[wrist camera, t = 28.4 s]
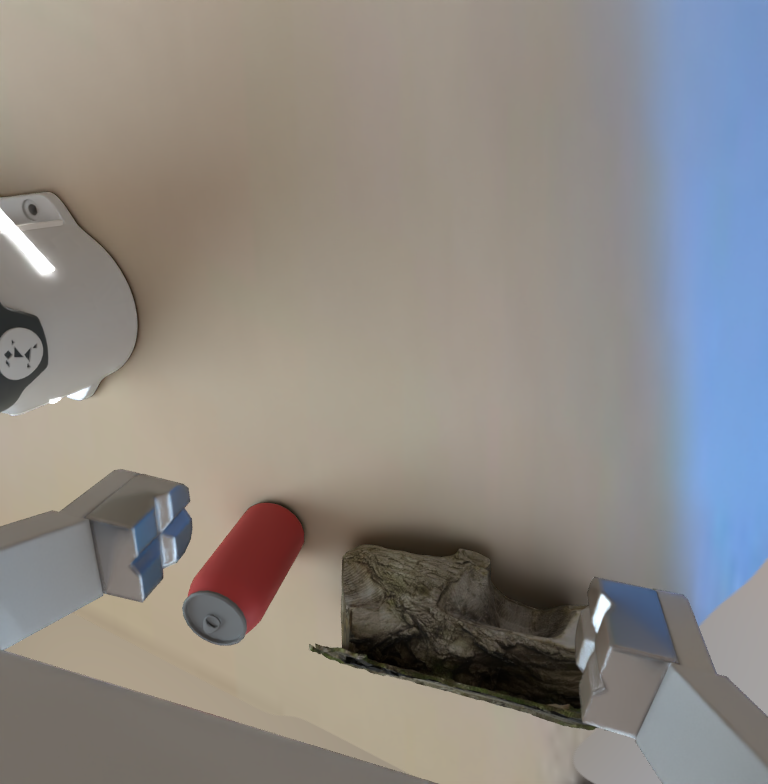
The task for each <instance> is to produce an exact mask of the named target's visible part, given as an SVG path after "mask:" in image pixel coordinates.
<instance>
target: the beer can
mask: <svg viewBox="0 0 768 784" xmlns="http://www.w3.org/2000/svg"><path fill="white" fill-rule="evenodd" d="M303 543H304V531H303V528H302V525H301V523H300V522H299V520H298V519H297V518H296V516H295V515H294V514H293V513H292V512H290V511H289V510H288V509H286V508H284V507H282V506H280V505H278V504H273V503H259V504H256V505H254V506H252V507H250V508H249V509H248V510H247V511H246V512H245V513H244V515H243V516H242V517H241V518H240V520H239V521H238V522H237V524H236V525H235V526H234V527H233V529H232V530H231V531H230V533H229V534H228V535H227V536H226V538H225V539H224V540H223V542H222V543H221V544H220V545H219V547H218V548H217V549H216V551H215V552H214V553H213V554H212V556H211V557H210V558H209V560H208V561H207V562H206V563H205V565H204V566H203V567H202V569H201V570H200V571H199V572H198V574H197V575H196V576H195V578H194V579H193V581H192V584H191V586H190V590H189V593H188V597H187V598H186V599H185V601H184V604H183V607H182V609H183V616H184V618H185V620H186V622H187V624H188V626H189V627H190V628H191V629H192V630H193V632H194V633H196V634H197V635H198V636H199V637H201V638H202V639H204V640H206V641H208V642H210V643H213V644H217V645H233V644H236V643H239V642H240V641H241V640H242V639H243V638H244V636H245V635H246V634H247V633H248V632H249V631H251V630H252V629H253V628H254V627H255V626H256V625H257V624H258V623H259V622H260V621H261V619H262V617H263V616H264V614H265V612H266V610H267V609H268V607H269V605H270V603H271V601H272V600H273V598H274V596H275V594H276V593H277V591H278V589H279V587H280V586H281V584H282V582H283V580H284V578H285V577H286V575H287V573H288V571H289V570H290V568H291V566H292V564H293V562H294V561H295V559H296V557H297V555H298V554H299V552H300V550H301V548H302V546H303Z"/></svg>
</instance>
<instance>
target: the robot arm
mask: <svg viewBox="0 0 768 784" xmlns="http://www.w3.org/2000/svg"><path fill="white" fill-rule="evenodd" d="M36 208H37V211H36ZM136 337H137V313H136V307H135V303H134V299H133V296H132V293H131V290H130V288H129V285H128V283H127V281H126V279H125V277H124V275H123V273H122V272H121V270H120V269H119V267H118V266H117V264H116V263H115V261H114V260H113V259H112V257H111V256H110V255H109V254H108V253H107V252H106V250H105V249H104V248H103V247H102V246H101V245H100V244H99V243H97V242H96V241H95V240H94V239H93V238H91V237H90V236H89V235H88V234H87V233H85V232H84V231H83V230H82V229H81V228H80V227H79V226H78V225H77V224H76V222H75V220H74V219H73V217H72V216H71V214H70V213H69V211H68V210H67V208H66V207H65V205H64V204H63V203H62V201H61V200H60V199H59V198H58V197H57V196H56V195H55V194H53V193H51V192H40V193H32V194H24V195H16V196H8V197H0V413H1V412H2V413H7V414H9V415H11V416H17V415H21V414H24V413H27V412H29V411H32V410H34V409H37V408H39V407H42V406H44V405H46V404H49V403H52V404H53V403H55V402H57V401H59V400H61V398H63V397H69V398H71V399H74V400H78V401H80V400H84V399H86V398H89V397H91V396H92V395H93V394H94V392H95V391H96V389H97V387H98V385H99V383H100V381H101V380H102V379H103V378H105V377H106V376H108V375H110V374H112V373H113V372H115V371H117V370H118V369H119V368H121V367H122V366H123V365H124V364H125V362H126V361H127V360H128V358H129V357H130V355H131V353H132V351H133V348H134V346H135V342H136ZM189 502H190V496H189V488H188V487H187V486H185V485H184V484H182V483H178V482H174V481H170V480H166V479H162V478H158V477H154V476H150V475H146V474H140V473H136V472H132V471H128V470H124V469H119V470H114V471H113V472H111V473H110V474H109V475H107V476H106V477H105V478H103V479H102V480H101V481H99V482H98V483H97V484H95V485H94V486H93V487H91V488H90V489H89V490H87V491H86V492H85V493H84V494H82V495H81V496H80V497H78V498H77V499H76V500H74V501H73V502H72V503H70V504H69V505H68V506H66V507H65V508H64V509H62V510H61V511H60V512H57V511H53V510H52V511H49V512H46V513H43V514H39V515H36V516H33V517H30V518H26V519H23V520H20V521H17V522H13V523H10V524H7V525H4V526H0V784H438V783H434V782H431V781H428V780H425V779H421V778H418V777H415V776H411V775H408V774H405V773H402V772H398V771H395V770H392V769H388V768H385V767H382V766H379V765H375V764H372V763H369V762H366V761H362V760H359V759H356V758H352V757H349V756H346V755H342V754H340V753H336V752H333V751H330V750H326V749H323V748H320V747H317V746H313V745H310V744H307V743H304V742H300V741H297V740H294V739H290V738H287V737H284V736H281V735H277V734H274V733H271V732H268V731H264V730H261V729H258V728H255V727H252V726H248V725H245V724H242V723H238V722H235V721H232V720H229V719H226V718H222V717H219V716H216V715H213V714H209V713H206V712H203V711H200V710H196V709H193V708H190V707H187V706H183V705H180V704H177V703H173V702H170V701H167V700H164V699H160V698H157V697H154V696H151V695H148V694H144V693H141V692H138V691H134V690H131V689H128V688H125V687H121V686H118V685H115V684H112V683H108V682H105V681H102V680H99V679H95V678H92V677H89V676H86V675H82V674H79V673H76V672H72V671H69V670H65V669H63V668H59V667H56V666H53V665H49V664H46V663H43V662H40V661H37V660H33V659H30V658H27V657H24V656H20V655H17V654H14V653H10V652H7V651H4V650H5V649H7V648H8V647H10V646H12V645H14V644H16V643H17V642H19V641H21V640H23V639H25V638H26V637H28V636H30V635H32V634H34V633H36V632H38V631H39V630H41V629H43V628H45V627H47V626H48V625H50V624H52V623H54V622H56V621H57V620H59V619H61V618H63V617H65V616H67V615H69V614H70V613H72V612H74V611H76V610H78V609H80V608H81V607H83V606H85V605H87V604H89V603H90V602H92V601H94V600H96V599H98V598H100V597H101V596H103V593H105V594H109V595H113V596H117V597H121V598H126V599H130V600H134V601H138V602H143V601H144V600H145V599H146V598H147V597H148V595H149V594H150V593H151V592H152V591H153V590H154V588H155V587H156V586H157V585H158V584H159V583H160V581H161V580H162V579H163V569H164V568H166V567H168V566H170V565H173V564H175V563H177V562H178V560H179V559H180V558H181V557H182V555H183V554H184V553H185V551H186V549H187V546H188V544H189V542H190V540H191V534H192V518H191V517H190V515H189V514H188V513H187V511H186V510H185V507H186V506H187V504H188V503H189ZM587 596H588V603H589V606H588V607H586V608H585V609H583V610H581V612H580V616H579V619H578V623H577V628H576V635H575V660H576V665H577V666H578V668H579V669H580V670H581V672H582V673H583V675H582V678H581V681H580V683H579V686H578V688H579V697H580V706H581V714H582V723H586V724H589V725H592V726H595V727H599V728H602V729H605V730H609V731H613V732H615V733H619V734H622V735H626V736H629V737H632V738H635V739H636V740H635V742H636V743H637V745H638V746H639V748H640V750H641V751H642V752H643V754H644V756H645V757H646V759H647V761H648V762H649V764H650V765H651V767H652V768H653V770H654V771H655V773H656V775H657V776H658V778H659V779H660V781H661V782H662V784H768V716H766V714H765V713H764V712H763V711H762V710H761V709H759V708H758V707H757V706H756V705H755V704H754V703H753V702H752V701H751V700H750V699H749V698H748V697H747V696H746V695H745V694H744V693H743V692H742V691H741V690H740V689H739V688H738V687H736V685H734V683H733V682H731V681H730V680H729V678H727V677H726V676H722V675H718V674H717V673H716V671H715V668H714V665H713V663H712V660H711V658H710V655H709V653H708V650H707V647H706V645H705V642H704V640H703V637H702V634H701V632H700V629H699V627H698V624H697V621H696V619H695V616H694V614H693V611H692V608H691V606H690V603H689V601H688V599H687V598H686V597H685V596H684V595H682V594H677V593H672V592H667V591H662V590H657V589H649V588H645V587H640V586H635V585H631V584H626V583H622V582H617V581H613V580H608V579H603V578H599V577H594V578H593V579H592V581H591V583H590V585H589V588H588V591H587Z"/></svg>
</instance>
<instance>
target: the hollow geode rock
mask: <svg viewBox="0 0 768 784" xmlns="http://www.w3.org/2000/svg"><path fill="white" fill-rule="evenodd" d="M490 575H491V563H490V559H488V558H486V557H484V556H483V555H481V554H479V553H477V552H474V551H469V550H465V549H460V548H459V550H458V551H457V553H456V554H454V555H452V556H444V557H433V556H430V555H417V554H412V553H409V552H405V551H400V550H391V549H385V548H383V547H381V546H377V545H360V546H358V547H356V548H355V549H353V550H351V551H348V552H346V554H345V555H344V556H343V560H342V598H341V625H342V648H338V647H337V648H329V647H324V646H320V645H317V644H315V645H316V648H315V647H314V646H312V645H311V644H309V649H310V650H311V651H312V652H317V653H318V654H322V655H324V656H325V657H326V658H328V659H330V660H336V661H338V662H339V663H342V664H346V665H349V666H352V667H355V668H359V669H365V670H367V671H369V672H370V673H373V674H378V675H382V676H384V675H388V676H391V677H396V678H399V679H404V680H409V681H412V682H415V683H417V684H421V685H425V686H430V687H433V688H437V689H441V690H444V691H449V692H453V693H456V694H459V695H463V696H466V697H470V698H474V699H477V700H484V701H487V702H489V703H493V704H496V705H500V706H503V707H507V708H512V709H515V710H518V711H522V712H526V713H530V714H532V715H533V716H536V717H539V718H542V719H545V720H547V721H551V722H555V723H557V724H560V725H563V726H569V727H574V728H582V729H586V730H594V729H595V728H599V727H595V726H592V725H589V724H586V723H582V714H581V706H580V697H579V688H578V686H579V683H580V681H581V678H582V675H583V673H582V672H581V670H580V669H579V668H578V666H577V665H576V660H575V635H576V628H577V623H578V619H579V616H580V612H581V610H583V609H585V608H586V607H588V606H589V605H585V606H573V605H566V606H558V607H554V608H551V609H547V610H538V609H535V608H532V607H529V606H526V605H524V604H522V603H520V602H518V601H515V600H512V599H508V598H507V597H505V596H504V595H503V594H502V593H501V592H499V591H498V590H497V589H496V587H495V586H494V585H493V583H492V582H491V579H490ZM604 730H605V729H604ZM607 731H609V730H607Z"/></svg>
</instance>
